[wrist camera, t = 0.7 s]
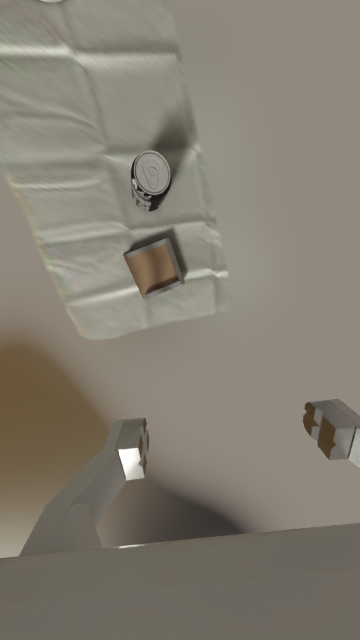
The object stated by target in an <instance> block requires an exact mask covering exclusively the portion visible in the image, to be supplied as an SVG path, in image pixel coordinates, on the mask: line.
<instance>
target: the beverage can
mask: <svg viewBox="0 0 360 640" xmlns="http://www.w3.org/2000/svg"><path fill="white" fill-rule="evenodd" d="M131 182H132V196H133V199H134V201H135V203H136V204H137V205H138V207H140V208H141V209H143V210H145V211H154V210H156V209H157V208H159V206H160V205H161V203H162V202H163V200H164V198H165V196H166V194H167V193H168V191H169V189H170V186H171V172H170V168H169V165H168V163H167V161H166V159H165V158H164V157H163V156H162V155H161V154H160V153H158V152H156V151H154V150H146V151H144V152H142V153H141V154H139V155H138V156H137V157H136V158H135V160H134V162H133V164H132V168H131Z"/></svg>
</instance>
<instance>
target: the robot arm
mask: <svg viewBox="0 0 360 640" xmlns="http://www.w3.org/2000/svg"><path fill="white" fill-rule="evenodd" d="M41 1H45V2H59V1H62V0H41ZM305 410H306V411H307V412H306V413H305V414H304V416H303V423H304V427H305V429H306V431H307V432H308V434H309V435H310V436H311V437H312V438H314V439H315V440H317V442H318V447H319V448H320V449H321V450H322V451H323V453H324V454H325V455H326V457H327V458H328V459H329V460H336V459H348V460H349V461H351V462H352V463H354V464H355V465H356V466H358V467H359V468H360V416H359V415H358V414H357V413H356V412H354V411H353V410H352V409H351V408H350V407H348V406H347V405H346V404H345V403H344V402H342V401H341V400H339V399H333V400H325V401H315V402H307V403H306V404H305ZM146 425H147V423H146V419H145V418H137V419H125V420H115V421H114V423H113V425H112V427H111V430H110V432H109V435H108V438H107V440H106V443H105V446H104V448H103V451H102V452H99V453H98V454H97V455H96V456H95V457H94V458H93V459H92V460H91V461H90V462H89V463H88V464H87V465H86V466H85V467H84V468H83V469H82V470H81V471H80V472H79V473H78V474H77V475H76V476H75V477H74V478H73V479H72V480H71V481H70V482H69V483H68V484H67V485H66V486H65V487H64V488H63V489H62V490H61V491H60V492H59V493H58V494H57V495H56V496H55V497H54V498H53V499H52V500H51V501H50V502H49V503H48V504H47V505H46V506H45V508H44V510H43V511H42V513H41V515H40V517H39V519H38V521H37V523H36V525H35V527H34V529H33V530H32V532H31V534H30V536H29V538H28V540H27V542H26V544H25V545H24V547H23V549H22V551H21V553H20V555H19V556H17V557H7V558H0V640H360V523H352V524H342V525H332V526H322V527H311V528H301V529H291V530H281V531H271V532H262V533H261V532H260V533H251V534H241V535H230V536H220V537H211V538H200V539H190V540H180V541H169V542H160V543H149V544H139V545H129V546H119V547H109V548H102V544H101V541H100V539H99V536H98V533H97V531H96V527H97V525H98V523H99V522H100V521H101V519H102V517H103V516H104V514H105V513H106V511H107V510H108V508H109V507H110V505H111V503H112V502H113V501H114V499H115V497H116V496H117V494H118V493H119V491H120V490H121V488H122V487H123V485H124V483H125V482H126V481H125V480H132V479H138V478H145V470H146V463H147V461H146V454H147V453H148V449H149V434H148V430H147V429H146Z"/></svg>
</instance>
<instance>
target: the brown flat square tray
mask: <svg viewBox="0 0 360 640" xmlns="http://www.w3.org/2000/svg"><path fill="white" fill-rule="evenodd" d="M123 256H124V258H125V260H126V262H127V265H128V267H129V269H130V271H131V273H132V275H133V278H134V280H135V282H136V284H137V286H138V288H139V290H140V293H141V295H142V297H143V298H145V297H147V299H148V298H150V297H153V296H155V295H157V294H160V293H162V292H165V291H167V290H169V289H172V288H174V287H177V286H179V285H181V284H184V283H185V282H184V279H183V276H182V273H181V270H180V268H179V265H178V262H177V259H176V256H175V253H174V250H173V248H172V245H171V242H170V239H169V237H168V238H165V239H163V240H160V241H158V242H155V243H152V244H150V245H147V246H145V247H142V248H140V249H137V250H135V251H132V252H130V253H127V254H125V255H123Z"/></svg>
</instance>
